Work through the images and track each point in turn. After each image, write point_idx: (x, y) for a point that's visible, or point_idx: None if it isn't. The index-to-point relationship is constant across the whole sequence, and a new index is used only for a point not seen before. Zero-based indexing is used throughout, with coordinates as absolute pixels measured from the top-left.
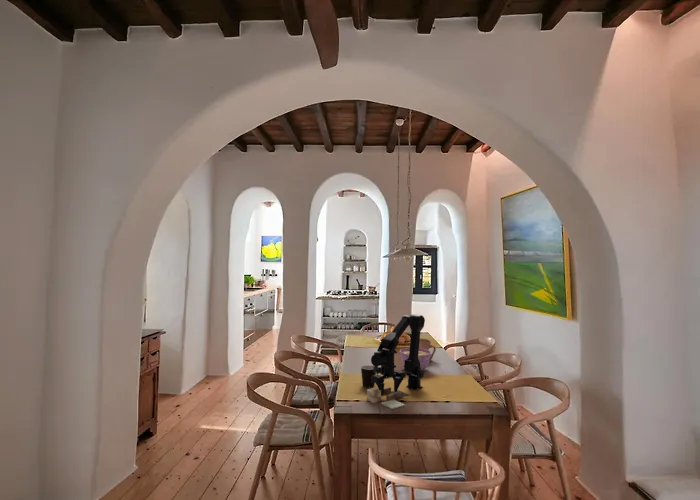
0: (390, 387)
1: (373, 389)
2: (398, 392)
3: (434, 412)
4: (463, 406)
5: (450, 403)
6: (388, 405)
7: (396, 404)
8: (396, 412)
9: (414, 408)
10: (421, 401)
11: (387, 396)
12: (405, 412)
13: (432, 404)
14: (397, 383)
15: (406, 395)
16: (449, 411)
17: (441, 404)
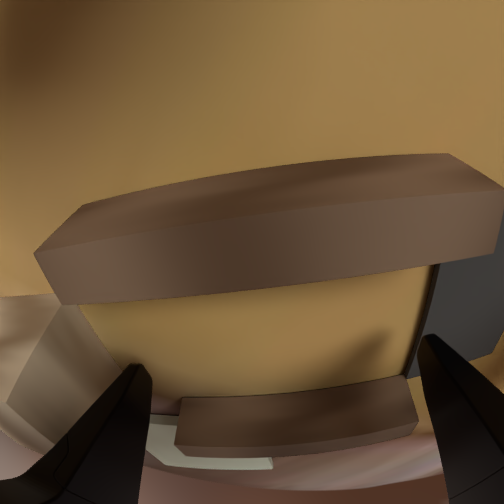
0: (487, 246)
1: (4, 418)
2: (488, 281)
3: (341, 487)
4: None
5: None
6: (154, 451)
7: (217, 461)
8: (176, 471)
9: (298, 475)
10: (421, 436)
11: (180, 447)
12: (221, 480)
13: (419, 454)
14: (458, 483)
15: (466, 357)
16: (395, 480)
17: None
